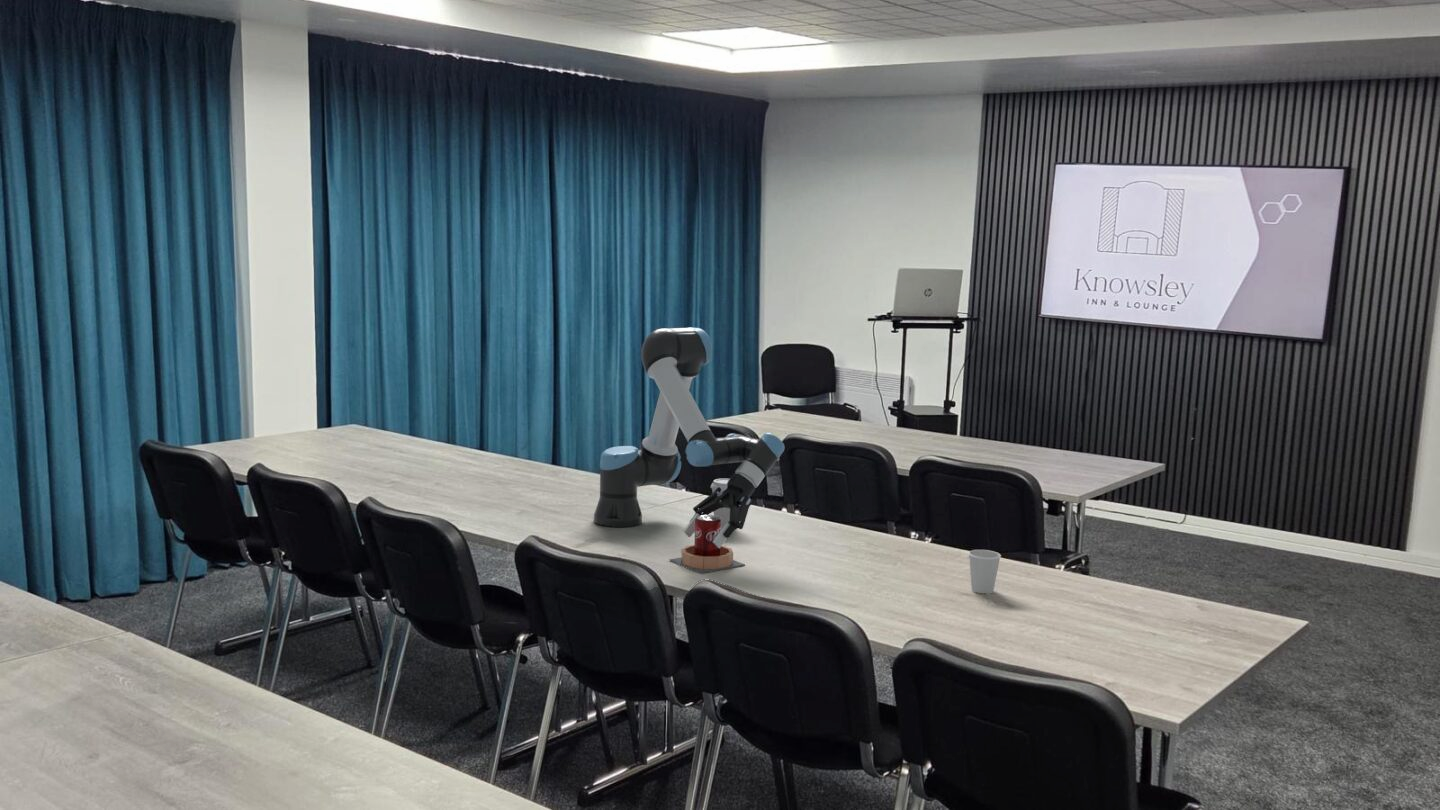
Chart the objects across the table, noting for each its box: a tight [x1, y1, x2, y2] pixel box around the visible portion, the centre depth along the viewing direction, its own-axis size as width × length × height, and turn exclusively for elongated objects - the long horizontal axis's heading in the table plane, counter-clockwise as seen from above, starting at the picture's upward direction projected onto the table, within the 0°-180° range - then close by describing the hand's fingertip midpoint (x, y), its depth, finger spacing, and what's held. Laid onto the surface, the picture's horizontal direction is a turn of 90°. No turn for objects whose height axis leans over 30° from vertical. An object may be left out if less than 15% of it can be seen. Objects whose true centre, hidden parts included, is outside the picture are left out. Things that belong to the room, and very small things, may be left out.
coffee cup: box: [710, 478, 730, 530], centre depth 369 cm, size 10×10×15 cm
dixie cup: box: [968, 549, 1002, 595], centre depth 311 cm, size 8×8×10 cm
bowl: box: [668, 544, 746, 575], centre depth 329 cm, size 15×15×4 cm
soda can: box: [693, 514, 721, 556], centre depth 328 cm, size 7×7×12 cm
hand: (700, 539), depth 327 cm, fingers open, 13 cm apart
